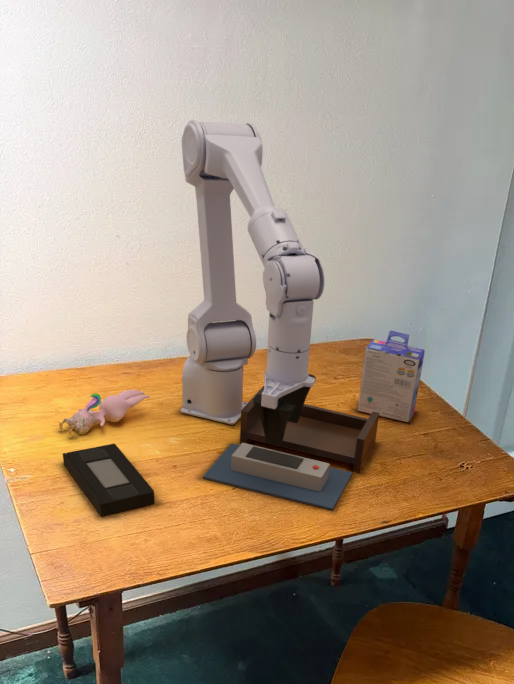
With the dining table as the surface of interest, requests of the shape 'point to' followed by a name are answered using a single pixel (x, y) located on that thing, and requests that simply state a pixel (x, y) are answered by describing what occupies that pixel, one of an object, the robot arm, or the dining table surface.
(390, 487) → the dining table surface
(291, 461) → the remote
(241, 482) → the desk mat
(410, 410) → the ink cartridge box
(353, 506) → the dining table surface
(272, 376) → the robot arm
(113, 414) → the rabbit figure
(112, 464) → the vhs tape
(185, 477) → the dining table surface
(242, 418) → the dark wooden tray
